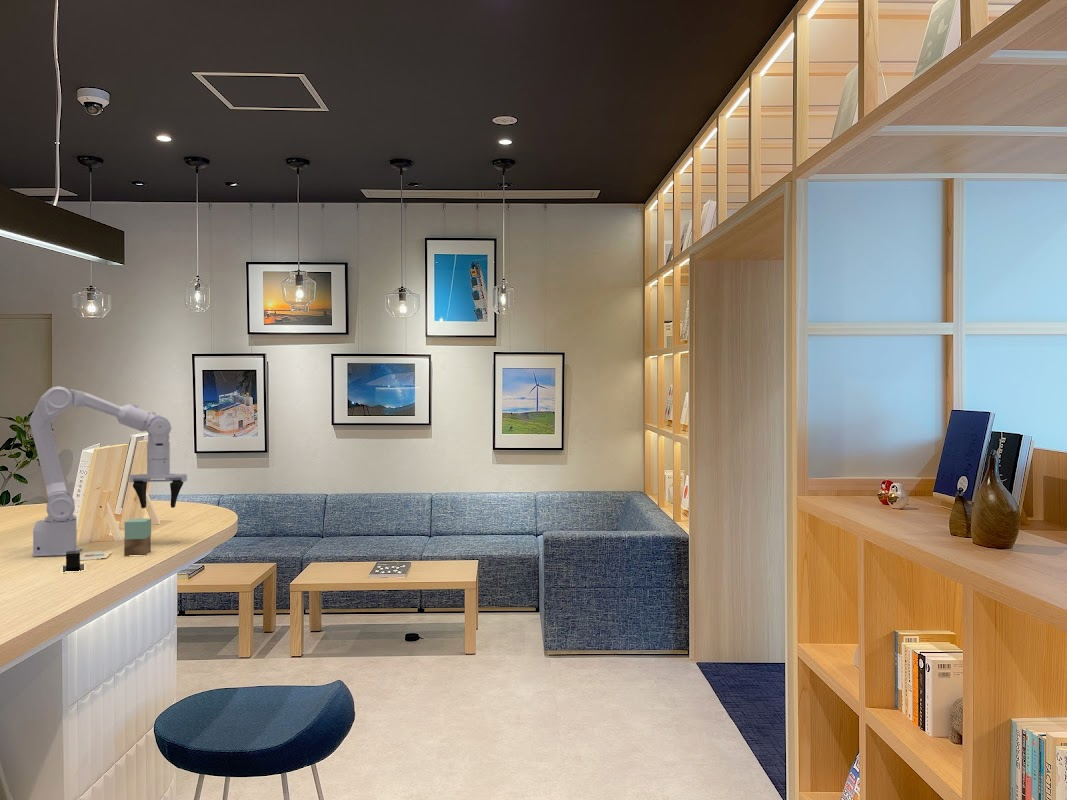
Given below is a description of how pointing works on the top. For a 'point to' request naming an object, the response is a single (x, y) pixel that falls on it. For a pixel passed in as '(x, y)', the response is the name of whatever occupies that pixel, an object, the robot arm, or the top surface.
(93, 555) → the page
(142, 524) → the teal block
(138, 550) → the walnut block
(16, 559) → the top surface
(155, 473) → the robot arm
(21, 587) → the top surface
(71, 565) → the black block with base
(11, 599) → the top surface
